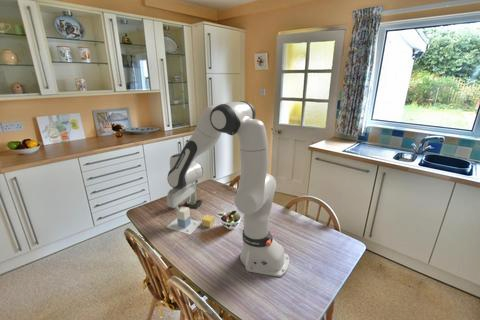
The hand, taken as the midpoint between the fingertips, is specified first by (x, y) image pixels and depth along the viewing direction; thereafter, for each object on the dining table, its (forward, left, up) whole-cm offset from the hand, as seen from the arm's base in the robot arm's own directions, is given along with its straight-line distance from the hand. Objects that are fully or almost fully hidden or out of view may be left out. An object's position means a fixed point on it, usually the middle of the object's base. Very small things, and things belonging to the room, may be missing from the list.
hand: (183, 206), depth 130 cm
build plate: (+1, 0, -13) cm, 12 cm away
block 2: (+1, 0, -12) cm, 12 cm away
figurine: (+10, -21, -13) cm, 26 cm away
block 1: (+1, 0, -7) cm, 7 cm away
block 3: (-11, -6, -13) cm, 18 cm away
